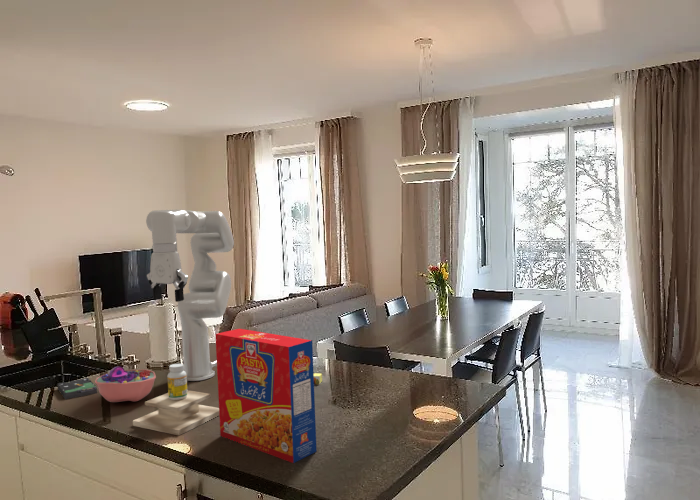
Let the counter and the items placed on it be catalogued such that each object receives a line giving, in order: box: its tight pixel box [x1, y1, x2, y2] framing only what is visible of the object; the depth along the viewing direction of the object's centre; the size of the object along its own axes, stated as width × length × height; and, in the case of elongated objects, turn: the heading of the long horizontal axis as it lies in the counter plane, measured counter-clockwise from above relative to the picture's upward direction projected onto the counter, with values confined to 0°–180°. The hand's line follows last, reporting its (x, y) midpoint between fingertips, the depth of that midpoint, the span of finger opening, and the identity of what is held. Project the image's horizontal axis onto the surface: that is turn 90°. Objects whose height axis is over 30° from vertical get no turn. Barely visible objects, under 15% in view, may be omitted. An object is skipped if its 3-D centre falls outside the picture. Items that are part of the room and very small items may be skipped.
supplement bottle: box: [166, 363, 188, 400], centre depth 162 cm, size 5×5×10 cm
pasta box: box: [214, 328, 318, 464], centre depth 142 cm, size 28×8×28 cm, turn 50°
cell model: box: [94, 365, 157, 403], centre depth 181 cm, size 17×20×11 cm
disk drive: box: [57, 377, 98, 400], centre depth 194 cm, size 10×3×15 cm
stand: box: [132, 389, 219, 436], centre depth 162 cm, size 18×18×6 cm
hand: (168, 300), depth 182 cm, fingers open, 9 cm apart
